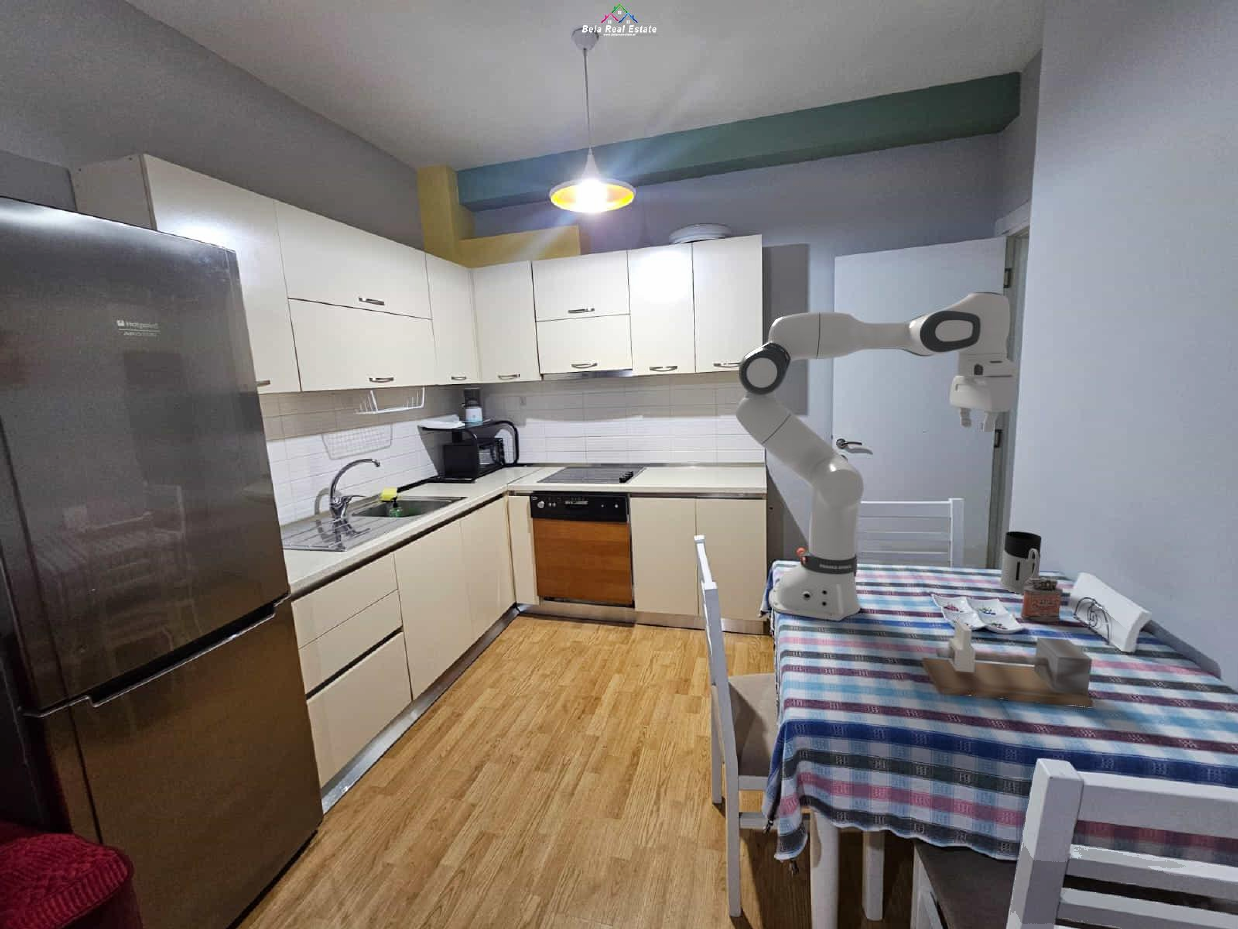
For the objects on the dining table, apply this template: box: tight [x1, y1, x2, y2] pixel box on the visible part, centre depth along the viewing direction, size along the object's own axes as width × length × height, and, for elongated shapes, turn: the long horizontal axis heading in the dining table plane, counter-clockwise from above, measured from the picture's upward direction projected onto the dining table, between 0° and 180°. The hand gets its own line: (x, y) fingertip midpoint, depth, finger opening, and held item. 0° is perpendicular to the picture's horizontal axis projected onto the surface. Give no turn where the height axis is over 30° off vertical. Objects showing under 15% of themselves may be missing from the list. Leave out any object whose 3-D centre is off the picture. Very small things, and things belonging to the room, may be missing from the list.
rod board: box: [921, 637, 1094, 708], centre depth 97 cm, size 24×10×8 cm, turn 76°
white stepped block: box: [946, 618, 977, 672], centre depth 98 cm, size 3×4×8 cm
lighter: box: [1020, 576, 1064, 622], centre depth 122 cm, size 8×3×10 cm, turn 84°
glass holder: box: [998, 530, 1042, 594], centre depth 135 cm, size 9×14×15 cm, turn 160°
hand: (975, 429), depth 117 cm, fingers open, 8 cm apart
